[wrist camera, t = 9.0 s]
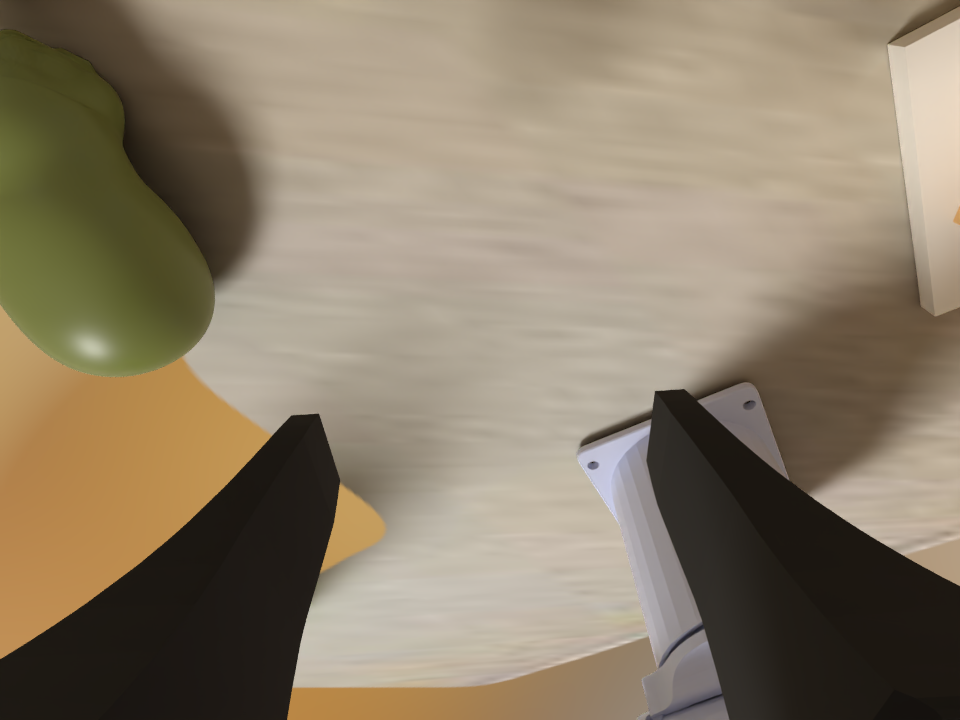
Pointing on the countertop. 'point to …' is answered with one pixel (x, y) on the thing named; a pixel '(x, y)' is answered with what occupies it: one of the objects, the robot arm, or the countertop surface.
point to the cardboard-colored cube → (957, 217)
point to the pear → (87, 225)
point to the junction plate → (931, 152)
